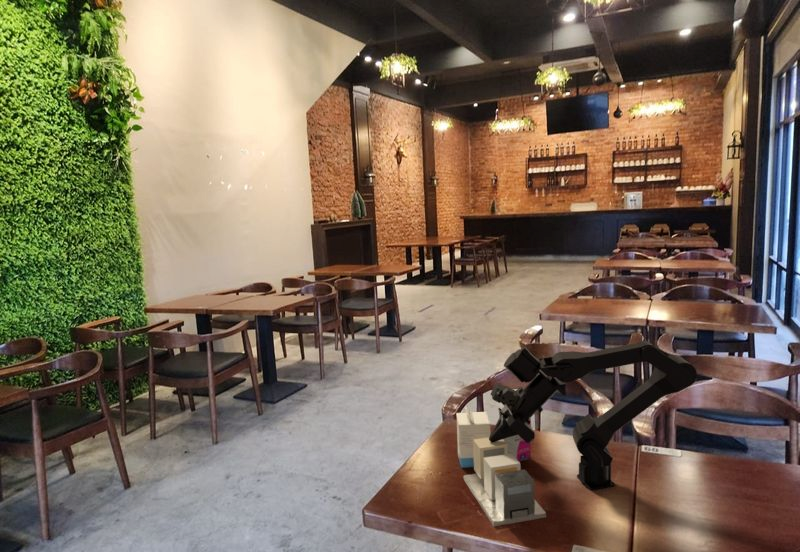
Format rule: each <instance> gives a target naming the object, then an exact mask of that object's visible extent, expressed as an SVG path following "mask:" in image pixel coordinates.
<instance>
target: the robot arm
mask: <svg viewBox="0 0 800 552" xmlns="http://www.w3.org/2000/svg"><path fill="white" fill-rule="evenodd" d="M644 362H645V363H646V362H647V363H648V364H649V365H651V366H653V367H654V369H653V371H652V373H650V377H649V378H648V379H647V380H646V381H645V382H643V383H642V384H641V385H639V386H638V387H637V388H635V389H634V390H632V392H630V393H629V394H628V395H626V396H625V397H623V398H622V399H621V400H620V401H618V402H617V403H615V405H613V406H612V407H611V408H609V409H608V410H606V411H605V412H604V413H603V414H602V415H600V416H596V417H592V415H591V414H590V413H587V414H586V415H585V416H584V417H583V418H582V419H581V420H579V421H577V422H575V426H574V428H573V429H572V435H571V436H572V439H573V441H574V444H575V447H576V448H577V450H578V452H579V453H580V454H581V455H580V461H579V463H578V474H577V475H576V478H578V479H579V480H580V481H581V482H582V483H583V484H584V485H585V486H586V487H587V489H590V490H593V491H594V490H598V489H604V488H610V487H615V486H616V483H615V482H614V481H613V480H612V462H613V459H614V458H613V456H612V454H611V452H610V450H609V449H608V445H609V444H610V442H611V440H612V438H613V436H614V435H615V433H617V432H618V431H619V430H620V429H622V428H623V427H625V425H628V423H630V422H632V420H634V419H635V418H636V417H638V416H639V415H641V414H642V413H643V412H645V411H646V410H647V409H649V407H651V406H652V405H654V404H656V402H658V401H659V400H661V398H663V397H666V396H668V395H669V396H670V395H672V394H677V393H680V392H682V391H683V390H685V389H687V388H690V387H691V386H693V385H694V384H695V383H696V382H697V376H698V373H697V369H696V368H695V366H694V365H692V364H691V363H689V361H687V360H685V359H684V358H683V357H682V356H680V355H677V354H668V353H667V352H665V351H663V350H662V349H660V348H658V347H656V346H654V345H653V344H652V343H651V342H649V341H647V340H640V341H637V342H633V343H629V344H624V345H619V346H615V347H611V348H604V349H599V350H594V351H590V352H589V351H588V352H583V351H573V350H572V351H559V352H556V353H554V354H553V355H551V356H547V357H539V358H537V357H535V356H534V355H533V353H531V352H530V351H529V349H528V348H527V347H526V346H522V347H521V348H520V349H518V350H516V351H514V352H512V353H511V354H510V355H509V356H508V357H507V359H506V360H505V362H504V363H503V367H504V368H505V369H506V370H508V372H510V373H511V374H512V375H513V376H514V377H515V378H516V379H517V380H518V381H519V382H521V383H526V384H527V385H526V386H524V388H523V387H522V386H521V387H518V388H517V389H516V390H515V389H513V388H511V387H509V386H506V385H503V384H501V383H499V382H495V383H494V385H493V387H492V389H491V392H490V396H491V398H492V400H493V401H495V402H497V403H498V404H500V403H501V404H502V406H503V407H502V408H500V407H498V409H497V411H498V420H497V422H496V423H495V426H494V427H493V429H492V431H491V435H490V437H489V441H491V442H492V443H493V442H496V441H499V440H502V439H505V438H508V437H511V436H515V435H519V436H520V437H521V438H522V439H523V440H524V441H525V442H527V443H528V444H529V443H530V442H533V441H534V440H535V437H536V436H535V435H536V434H535V432H534V430H533V428H532V426H530V425H529V424H530V423H531V424H532V420H531V421H530V418H531V419H532V417H533V416H534V415H535V414H536V413H537V412H539V413H540V414H541V413H542V412H543V411H544V408H543V406H544V405H545V404H546V403H547V402H548V401H549V400H550V399H551V398H552V397H553V396H554V395H555V394H556V393H557V392H559V393H560V394H561V395H562V396H563V397H566V396H567V389H566V388H567V384H566V383H571V382H574V381H576V380H580V379H583V378H584V377H586V376H587V375H589V374H591V373H595V372H597V371H601V370H607V369H612V368H617V367H619V368H620V367H622V366H623V367H624V366H627V365H633V364H638V363H644Z"/></svg>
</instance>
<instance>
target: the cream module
mask: <svg viewBox="0 0 800 552" xmlns="http://www.w3.org/2000/svg"><path fill="white" fill-rule="evenodd" d="M518 470H522V469H521V461H520V462H519V461H518V460H517V459H516V458H515V457H514V456H513V455H512V454H506V455H500V456H493V457H486V458H484V486H485V491H486V492H487V494H488V495H489V497H490V498H491V500H495V474H498V473H505V472H511V471H518Z"/></svg>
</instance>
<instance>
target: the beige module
mask: <svg viewBox="0 0 800 552" xmlns="http://www.w3.org/2000/svg"><path fill="white" fill-rule="evenodd" d="M506 454H508V444H507V443H506V442H505V441H504V440H503V439H502V440H499V441H496V442H493V443H492V442H491V441H489V437H488V438H481V439H474V440H473V455H474V467H473V470H474V472H475V474H477V475H478V476H479V477H480V479H484V458H486V457H493V456H500V455H506Z"/></svg>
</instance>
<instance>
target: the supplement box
mask: <svg viewBox="0 0 800 552" xmlns="http://www.w3.org/2000/svg"><path fill="white" fill-rule="evenodd" d="M531 419H532V417H531V418H530V421H531V423H530V424H529V425H530V426H531V425H532V420H531ZM531 427H532V426H531ZM503 440H504V441H505V442H506V443H507V444H508V454H512V455H513V456H514V457H515V458H516V459H517V460H518V461H519V462H520V463H521V462H522V461H526V460H529V459H531V458H532V457H531V455H532V454H531V452H532V451H531V448H532V447H531V444H532V443H531V442H532V441H531V442H530V443H529V444H528V443H527V442H525V441H524V440H523V439H522V438H521V437H520V436H519V435H515V436H511V437H508V438H505V439H503Z"/></svg>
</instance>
